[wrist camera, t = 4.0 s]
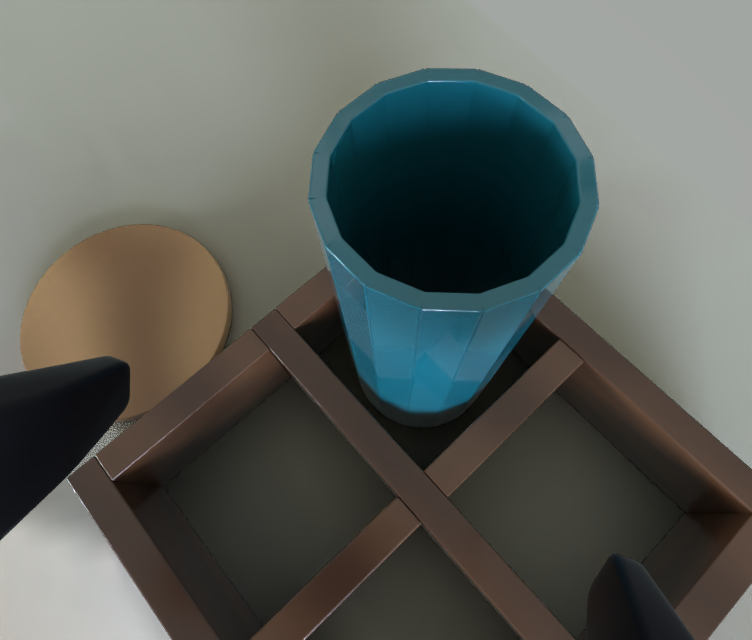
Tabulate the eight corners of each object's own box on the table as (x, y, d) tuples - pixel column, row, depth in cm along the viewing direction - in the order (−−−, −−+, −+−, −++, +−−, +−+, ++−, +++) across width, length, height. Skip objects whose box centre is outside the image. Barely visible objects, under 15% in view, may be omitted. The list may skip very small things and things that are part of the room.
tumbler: (418, 455, 21) (451, 374, 8) (331, 360, 22) (252, 173, 10) (510, 367, 22) (658, 181, 9) (421, 282, 23) (451, 27, 11)
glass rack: (409, 894, 16) (414, 1011, 12) (124, 484, 21) (64, 478, 17) (727, 514, 19) (806, 515, 16) (422, 234, 24) (427, 183, 20)
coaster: (97, 469, 21) (89, 468, 20) (-8, 315, 23) (-18, 310, 23) (273, 324, 23) (270, 320, 22) (158, 196, 25) (153, 189, 25)
